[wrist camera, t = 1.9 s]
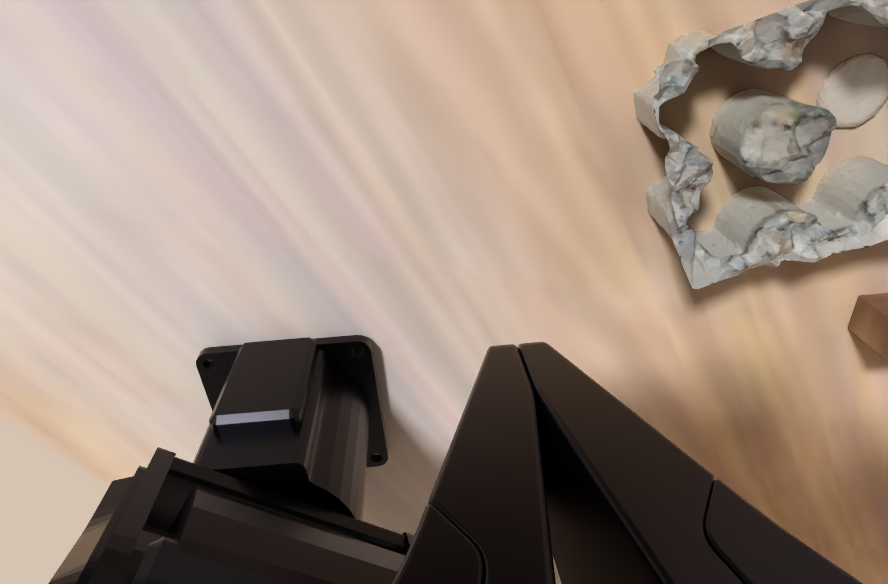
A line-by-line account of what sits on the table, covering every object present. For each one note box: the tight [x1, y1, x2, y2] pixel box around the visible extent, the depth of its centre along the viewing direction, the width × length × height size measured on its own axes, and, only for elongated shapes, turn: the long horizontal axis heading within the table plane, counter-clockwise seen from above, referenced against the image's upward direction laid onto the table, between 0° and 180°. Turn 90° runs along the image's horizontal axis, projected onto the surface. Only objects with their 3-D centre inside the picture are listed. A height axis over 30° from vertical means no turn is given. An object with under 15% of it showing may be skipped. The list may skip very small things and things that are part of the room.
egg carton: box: [634, 0, 888, 289], centre depth 17 cm, size 11×8×4 cm
